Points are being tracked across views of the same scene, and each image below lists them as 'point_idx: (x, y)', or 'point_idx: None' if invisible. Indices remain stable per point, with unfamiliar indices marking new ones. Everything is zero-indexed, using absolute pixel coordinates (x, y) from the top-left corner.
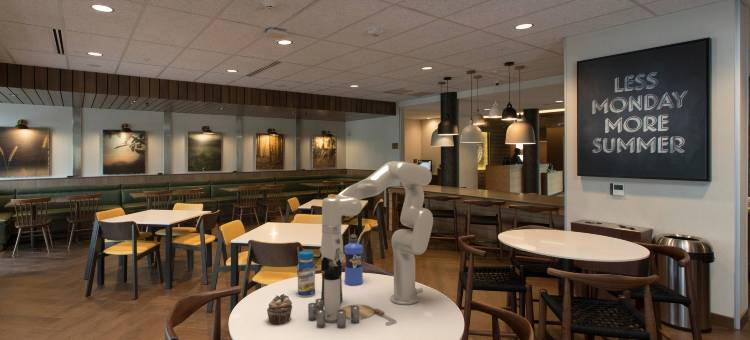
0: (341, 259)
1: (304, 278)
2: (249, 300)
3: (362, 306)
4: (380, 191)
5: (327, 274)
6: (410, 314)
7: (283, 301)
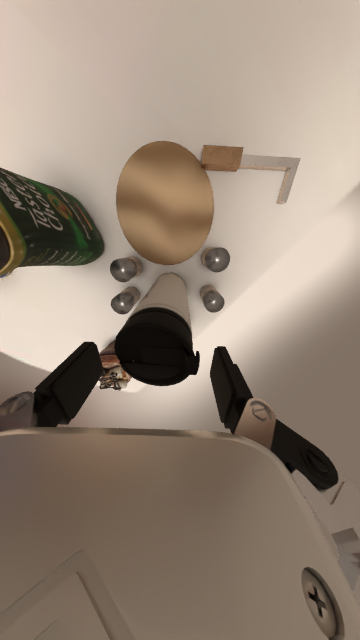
0: (355, 512)
1: None
2: (13, 353)
3: (143, 167)
4: None
5: (171, 378)
6: (308, 24)
7: (121, 377)
